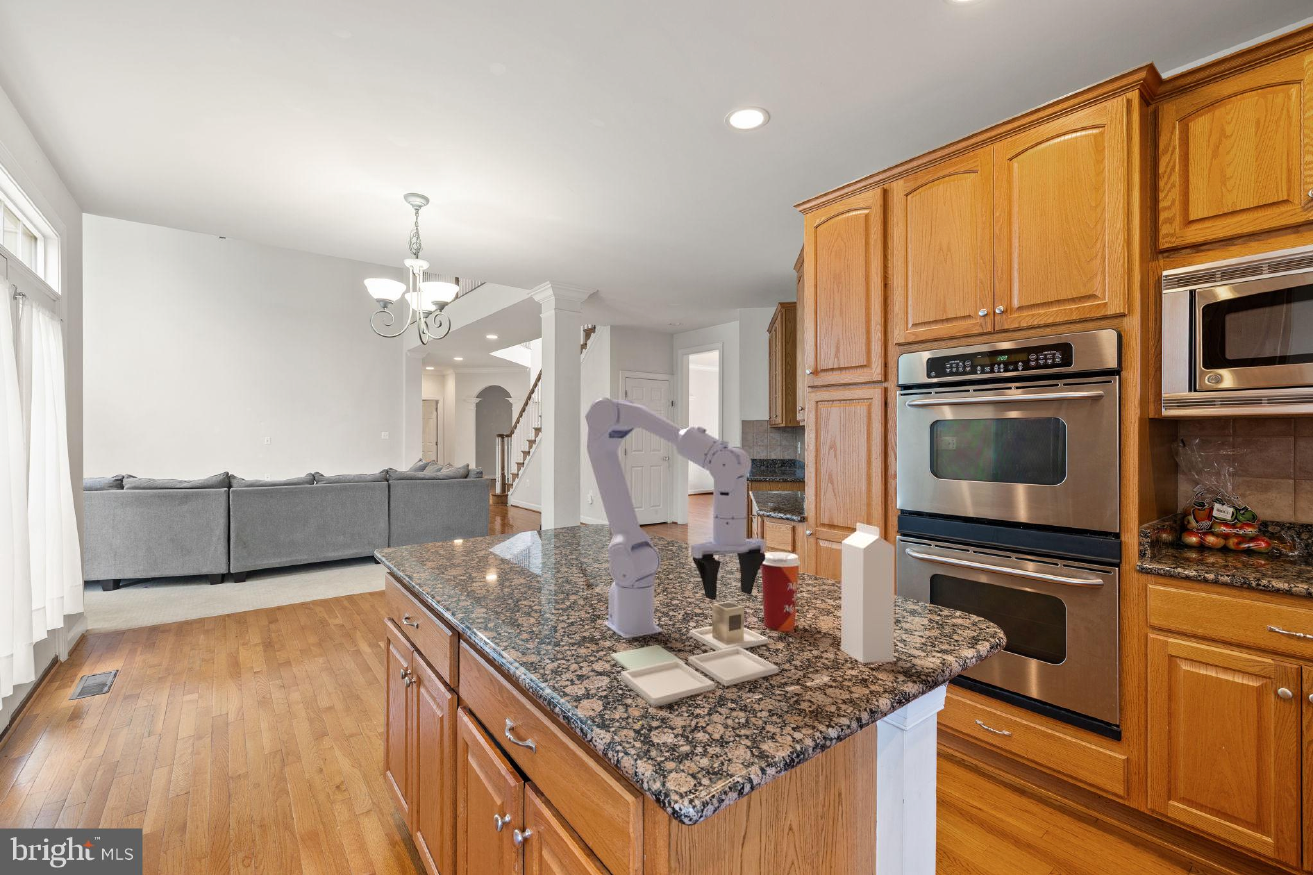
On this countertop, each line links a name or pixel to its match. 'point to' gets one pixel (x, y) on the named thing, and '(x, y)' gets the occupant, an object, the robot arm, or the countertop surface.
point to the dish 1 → (666, 682)
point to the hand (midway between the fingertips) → (728, 595)
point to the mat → (643, 657)
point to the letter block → (728, 622)
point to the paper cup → (780, 590)
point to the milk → (867, 596)
